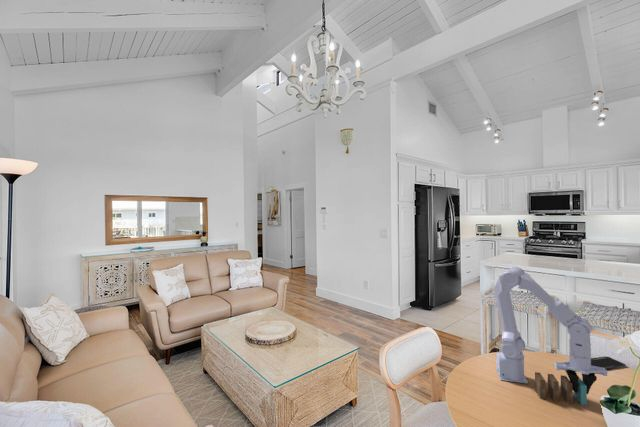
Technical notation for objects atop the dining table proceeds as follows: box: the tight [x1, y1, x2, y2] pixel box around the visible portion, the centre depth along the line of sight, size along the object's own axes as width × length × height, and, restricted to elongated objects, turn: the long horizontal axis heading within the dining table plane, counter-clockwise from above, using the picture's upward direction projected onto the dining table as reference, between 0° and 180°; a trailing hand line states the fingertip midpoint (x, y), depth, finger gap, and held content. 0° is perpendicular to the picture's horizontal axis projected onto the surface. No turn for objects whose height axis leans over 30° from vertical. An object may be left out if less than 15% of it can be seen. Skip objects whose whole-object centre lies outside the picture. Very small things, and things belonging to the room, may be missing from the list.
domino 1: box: [534, 371, 546, 400], centre depth 110 cm, size 2×5×7 cm, turn 161°
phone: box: [591, 355, 627, 371], centre depth 128 cm, size 8×1×15 cm
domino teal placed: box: [573, 377, 588, 406], centre depth 106 cm, size 2×5×7 cm, turn 161°
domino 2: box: [547, 373, 560, 402], centre depth 109 cm, size 2×5×7 cm, turn 161°
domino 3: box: [560, 375, 574, 405], centre depth 108 cm, size 2×5×7 cm, turn 161°
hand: (580, 391), depth 106 cm, fingers open, 2 cm apart
